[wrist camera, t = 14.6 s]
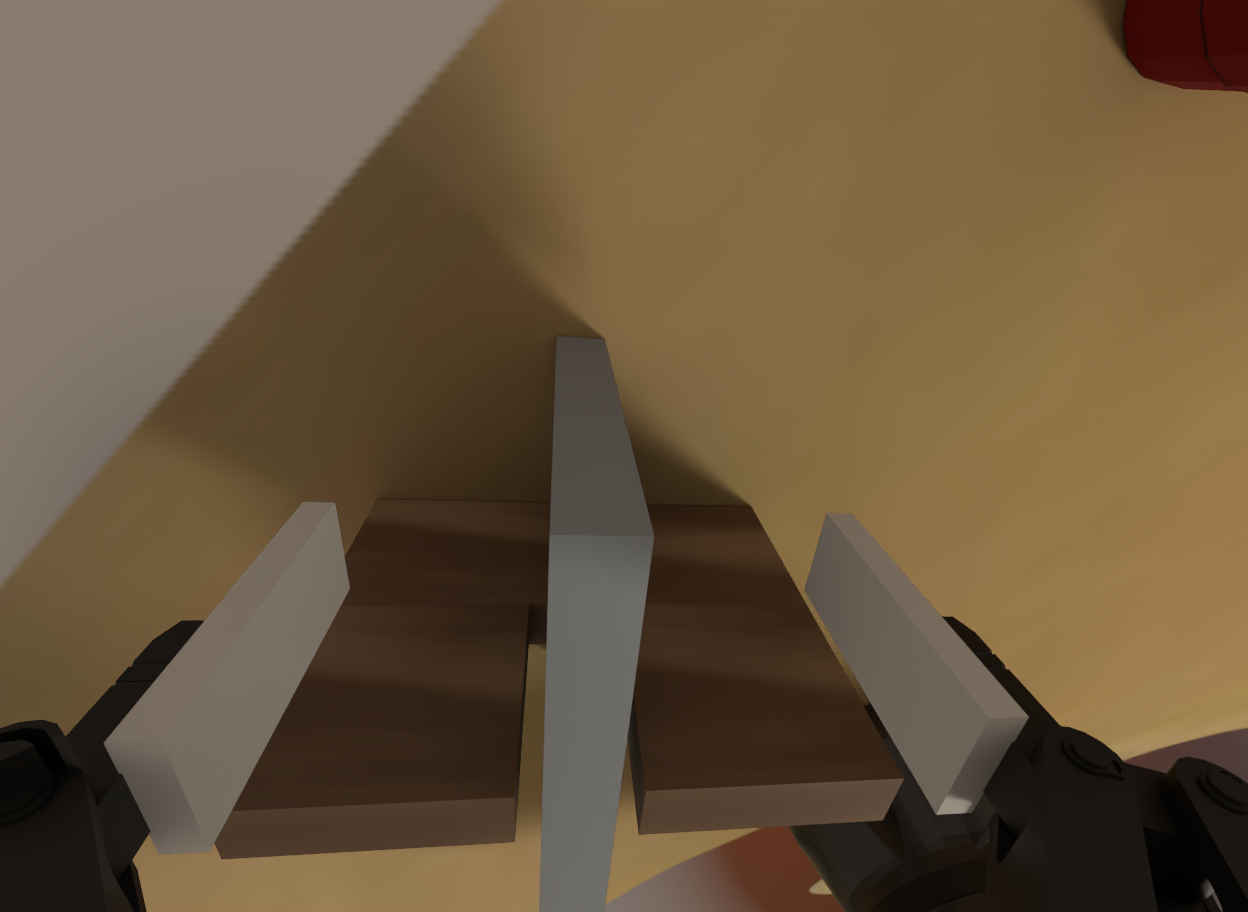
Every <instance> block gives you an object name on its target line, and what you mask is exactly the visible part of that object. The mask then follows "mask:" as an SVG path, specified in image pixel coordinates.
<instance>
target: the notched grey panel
mask: <svg viewBox="0 0 1248 912" xmlns="http://www.w3.org/2000/svg"><path fill="white" fill-rule="evenodd" d="M653 542H654V533H653V529H652V525H651V521H650V517H649V513H648V509H647V505H646V501H645V497H644V493H643V489H642V485H641V481H640V477H639V473H638V469H637V465H636V461H635V457H634V453H633V450H632V446H631V442H630V438H629V434H628V430H627V426H626V422H625V418H624V414H623V410H622V406H621V402H620V398H619V394H618V390H617V386H616V382H615V378H614V374H613V370H612V366H611V362H610V358H609V354H608V350H607V346H606V342H605V339H600V338H582V337H565V336H557V337H556V366H555V394H554V423H553V452H552V480H551V509H550V538H549V575H548V611H547V648H546V684H545V721H544V757H543V794H542V830H541V867H540V903H539V912H604V908H605V901H606V894H607V886H608V879H609V871H610V864H611V856H612V849H613V841H614V834H615V826H616V819H617V812H618V804H619V797H620V789H621V782H622V774H623V767H624V759H625V752H626V744H627V737H628V729H629V722H630V714H631V707H632V699H633V692H634V684H635V677H636V669H637V662H638V654H639V647H640V639H641V632H642V624H643V617H644V609H645V602H646V594H647V587H648V580H649V572H650V565H651V557H652V550H653Z"/></svg>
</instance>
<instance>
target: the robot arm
mask: <svg viewBox="0 0 1248 912" xmlns="http://www.w3.org/2000/svg"><path fill="white" fill-rule="evenodd" d="M349 589H350V586H349V580H348V574H347V568H346V563H345V557H344V551H343V545H342V539H341V534H340V528H339V522H338V516H337V510H336V504H335V502H302V504H301V505H300V506H299V507H298V508H297V510H296V511H295V512H294V513H293V514H292V516H291V517H290V518H289V519H288V520H287V522H286V523H285V524H284V525H283V527H282V528H281V529H280V530H279V531H278V533H277V534H276V535H275V536H274V537H273V539H272V540H271V541H270V542H269V543H268V545H267V546H266V547H265V548H264V550H263V551H262V552H261V553H260V554H259V556H258V557H257V558H256V559H255V560H254V562H253V563H252V564H251V565H250V566H249V568H248V569H247V570H246V571H245V573H244V574H243V575H242V576H241V577H240V579H239V580H238V581H237V582H236V583H235V585H234V586H233V587H232V588H231V589H230V591H229V592H228V593H227V594H226V596H225V597H224V598H223V599H222V600H221V602H220V603H219V604H218V605H217V606H216V608H215V609H214V610H213V611H212V612H211V614H210V615H209V616H208V617H207V619H206V620H205V621H180V622H179V623H178V624H176V625H175V626H173V627H172V628H170V629H169V630H167V631H166V632H164V633H163V634H161V635H160V636H158V637H157V638H155V639H154V640H153V641H152V642H151V643H150V644H149V645H148V646H147V647H146V648H145V649H144V651H143V652H142V653H141V654H140V655H139V656H138V657H137V658H136V659H135V660H134V662H133V665H132V667H128V668H127V669H126V670H125V672H124V673H123V674H122V675H121V676H120V677H119V678H118V679H117V680H116V684H115V686H111V687H110V688H109V689H108V690H107V691H106V693H105V694H104V695H103V696H102V697H101V698H100V699H99V700H98V701H97V702H96V704H95V705H94V706H93V707H92V708H91V709H90V710H89V711H88V712H87V714H86V715H85V716H84V717H83V718H82V719H81V720H80V721H79V722H78V724H77V725H76V726H75V727H74V728H73V729H72V730H71V731H70V732H69V733H68V735H67V736H66V737H65V735H64V734H63V732H62V731H61V729H60V728H59V726H58V725H57V724H56V723H53V722H49V721H45V720H34V721H25V722H19V723H15V724H12V725H9V726H6V727H3V728H0V912H146V907H145V903H144V898H143V894H142V889H141V884H140V880H139V875H138V871H137V868H136V866H135V865H134V863H133V861H132V859H133V858H134V856H135V855H136V853H137V852H138V850H139V848H140V847H141V845H142V844H143V842H144V841H145V839H146V838H147V836H148V834H149V835H150V837H151V839H152V841H153V843H154V845H155V847H156V849H157V851H158V853H159V854H179V853H198V852H210V850H211V848H212V847H213V845H214V843H215V841H216V839H217V837H218V835H219V833H220V831H221V830H222V828H223V826H224V824H225V822H226V820H227V818H228V816H229V815H230V813H231V811H232V809H233V807H234V805H235V803H236V801H237V800H238V798H239V796H240V794H241V792H242V790H243V788H244V786H245V785H246V783H247V781H248V779H249V777H250V775H251V773H252V771H253V770H254V768H255V766H256V764H257V762H258V760H259V758H260V756H261V755H262V753H263V751H264V749H265V747H266V745H267V743H268V741H269V740H270V738H271V736H272V734H273V732H274V730H275V728H276V726H277V725H278V723H279V721H280V719H281V717H282V715H283V713H284V711H285V710H286V708H287V706H288V704H289V702H290V700H291V698H292V696H293V695H294V693H295V691H296V689H297V687H298V685H299V683H300V681H301V680H302V678H303V676H304V674H305V672H306V670H307V668H308V666H309V665H310V663H311V661H312V659H313V657H314V655H315V653H316V651H317V650H318V648H319V646H320V644H321V642H322V640H323V638H324V636H325V634H326V633H327V631H328V629H329V627H330V625H331V623H332V621H333V619H334V618H335V616H336V614H337V612H338V610H339V608H340V606H341V604H342V603H343V601H344V599H345V597H346V595H347V593H348V591H349ZM805 592H806V594H807V595H808V597H809V599H810V601H811V602H812V604H813V606H814V607H815V609H816V611H817V612H818V614H819V616H820V618H821V619H822V621H823V623H824V624H825V626H826V628H827V629H828V631H829V633H830V635H831V636H832V638H833V640H834V641H835V643H836V645H837V646H838V648H839V650H840V652H841V653H842V655H843V657H844V658H845V660H846V662H847V663H848V665H849V667H850V669H851V670H852V672H853V674H854V675H855V677H856V679H857V680H858V682H859V684H860V686H861V687H862V689H863V691H864V692H865V694H866V696H867V698H868V699H869V701H870V703H871V704H872V706H869V707H866V708H865V710H866V711H867V713H868V715H869V717H870V718H871V720H872V722H873V724H874V726H875V727H876V729H877V731H878V733H879V734H880V736H881V738H882V740H883V742H884V743H885V745H886V747H887V749H888V750H889V752H890V754H891V756H892V758H893V759H894V761H895V763H896V765H897V766H898V768H899V770H900V772H901V774H902V775H903V777H904V780H903V782H902V784H901V786H900V788H899V790H898V792H897V794H896V795H895V797H894V799H893V801H892V803H891V805H890V807H889V809H888V811H887V813H886V815H885V817H884V819H883V820H879V821H863V822H846V823H829V824H812V825H795V826H789V828H790V830H791V832H792V834H793V836H794V838H795V840H796V841H797V843H798V844H799V846H800V847H801V848H802V850H803V851H804V853H805V854H806V856H807V857H808V858H809V860H810V862H811V863H812V865H813V866H814V867H815V869H816V870H817V872H818V873H819V875H820V876H821V878H822V879H823V880H824V882H825V883H826V885H827V886H828V888H829V889H830V891H831V892H832V893H833V895H834V896H835V898H836V899H837V901H838V902H839V903H840V905H841V906H842V908H843V909H844V911H845V912H1221V910H1220V909H1219V907H1218V905H1217V904H1216V902H1215V900H1214V898H1213V896H1212V893H1213V892H1214V891H1215V893H1216V895H1217V897H1218V899H1219V901H1220V904H1221V907H1222V909H1223V912H1248V784H1247V783H1246V782H1245V781H1244V780H1242V779H1241V778H1239V777H1238V776H1236V775H1235V774H1232V773H1231V772H1229V771H1227V770H1225V769H1224V768H1222V767H1220V766H1217V765H1215V764H1212V763H1210V762H1208V761H1205V760H1202V759H1197V758H1191V757H1185V758H1180V759H1178V760H1177V761H1176V762H1175V763H1174V764H1173V766H1172V767H1171V768H1170V769H1169V771H1168V772H1167V773H1163V772H1159V771H1155V770H1151V769H1147V768H1142V767H1139V766H1135V765H1131V764H1127V763H1124V762H1123V761H1122V760H1121V758H1120V757H1119V756H1118V755H1117V754H1116V753H1115V752H1113V751H1112V750H1111V749H1110V748H1108V747H1107V746H1106V745H1105V744H1103V743H1102V742H1101V741H1099V740H1097V739H1095V738H1094V737H1092V736H1090V735H1088V734H1086V733H1085V732H1082V731H1079V730H1076V729H1073V728H1070V727H1062V726H1060V725H1059V724H1058V723H1057V722H1056V721H1055V720H1054V718H1053V717H1052V716H1051V715H1050V714H1049V713H1048V712H1047V711H1046V710H1045V709H1044V708H1043V706H1042V705H1041V704H1040V703H1039V702H1038V701H1037V700H1036V699H1035V698H1034V697H1033V695H1032V694H1031V693H1030V692H1029V691H1028V690H1027V689H1026V688H1025V687H1024V686H1023V684H1022V683H1021V682H1020V681H1019V680H1018V679H1017V678H1016V677H1015V676H1014V675H1013V674H1012V672H1011V671H1010V670H1006V668H1005V665H1004V664H1003V663H1002V661H1001V660H1000V659H999V658H998V657H997V656H996V655H995V654H992V651H991V649H990V648H989V647H988V646H987V645H986V644H985V643H984V642H983V641H982V640H981V638H980V637H979V636H978V635H977V634H976V633H975V632H974V631H972V630H971V629H969V628H968V627H967V626H965V625H964V624H962V623H961V622H959V621H958V620H957V619H955V618H954V617H942V616H941V615H940V614H939V613H938V612H937V611H936V609H935V608H934V607H933V606H932V605H931V604H930V603H929V601H928V600H927V599H926V598H925V597H924V596H923V595H922V593H921V592H920V591H919V590H918V589H917V588H916V586H915V585H914V584H913V583H912V582H911V581H910V580H909V578H908V577H907V576H906V575H905V574H904V573H903V571H902V570H901V569H900V568H899V567H898V566H897V565H896V563H895V562H894V561H893V560H892V559H891V558H890V557H889V555H888V554H887V553H886V552H885V551H884V550H883V548H882V547H881V546H880V545H879V544H878V543H877V542H876V540H875V539H874V538H873V537H872V536H871V535H870V534H869V532H868V531H867V530H866V529H865V528H864V527H863V525H862V524H861V523H860V522H859V521H858V520H857V519H856V517H855V516H854V515H853V514H845V513H827V514H826V517H825V521H824V524H823V528H822V531H821V535H820V538H819V541H818V545H817V548H816V552H815V555H814V559H813V562H812V566H811V569H810V572H809V576H808V579H807V583H806V586H805Z"/></svg>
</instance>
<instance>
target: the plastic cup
mask: <svg viewBox="0 0 1248 912" xmlns="http://www.w3.org/2000/svg"><path fill="white" fill-rule="evenodd" d="M1123 28H1124V34H1125V40H1126V46H1127V53H1128V58H1129V59H1130V60H1131V61H1132V63H1133V64H1134V65H1135V67H1136V68H1137V69H1138V70H1139V72H1140V73H1141V74H1142V76H1143V77H1144V78H1147V79H1151V80H1154V81H1158V82H1161V83H1164V84H1168V85H1172V86H1176V87H1179V88H1182V89H1200V90H1222V91H1243V92H1247V93H1248V0H1128V1H1127V7H1126V12H1125V18H1124V23H1123Z"/></svg>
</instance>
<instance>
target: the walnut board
mask: <svg viewBox="0 0 1248 912" xmlns="http://www.w3.org/2000/svg"><path fill="white" fill-rule="evenodd" d="M646 505H647V509H648V513H649V517H650V521H651V525H652V529H653V533H654V542H653V550H652V557H651V565H650V572H649V580H648V587H647V594H646V602H645V609H644V617H643V624H642V632H641V639H640V647H639V654H638V662H637V669H636V677H635V684H634V692H633V699H632V707H631V714H630V722H629V729H628V745H629V754H630V763H631V771H632V780H633V789H634V797H635V806H636V815H637V823H638V832H639V835H642V834H659V833H676V832H693V831H710V830H727V829H744V828H761V827H777V826H795V825H812V824H829V823H846V822H863V821H879V820H883V819H884V817H885V815H886V813H887V811H888V809H889V807H890V805H891V803H892V801H893V799H894V797H895V795H896V794H897V792H898V790H899V788H900V786H901V784H902V782H903V780H904V777H903V775H902V774H901V772H900V770H899V768H898V766H897V765H896V763H895V761H894V759H893V758H892V756H891V754H890V752H889V750H888V749H887V747H886V745H885V743H884V742H883V740H882V738H881V736H880V734H879V733H878V731H877V729H876V727H875V726H874V724H873V722H872V720H871V718H870V717H869V715H868V713H867V711H866V710H865V708H864V706H863V704H862V702H861V701H860V699H859V697H858V695H857V694H856V692H855V690H854V688H853V686H852V685H851V683H850V681H849V679H848V678H847V676H846V674H845V672H844V670H843V669H842V667H841V665H840V663H839V662H838V660H837V658H836V656H835V654H834V653H833V651H832V649H831V647H830V646H829V644H828V642H827V640H826V638H825V637H824V635H823V633H822V631H821V630H820V628H819V626H818V624H817V622H816V621H815V619H814V617H813V615H812V614H811V612H810V610H809V608H808V606H807V605H806V603H805V601H804V599H803V598H802V596H801V594H800V592H799V590H798V589H797V587H796V585H795V583H794V582H793V580H792V578H791V576H790V574H789V573H788V571H787V569H786V567H785V566H784V564H783V562H782V560H781V558H780V557H779V555H778V553H777V551H776V550H775V548H774V546H773V544H772V542H771V541H770V539H769V537H768V535H767V534H766V532H765V530H764V528H763V526H762V525H761V523H760V521H759V519H758V518H757V516H756V514H755V512H754V510H753V509H752V507H751V506H707V505H655V504H646ZM550 509H551V502H501V501H449V500H398V499H377V501H376V502H375V504H374V506H373V508H372V510H371V511H370V513H369V515H368V517H367V518H366V520H365V522H364V524H363V526H362V527H361V529H360V531H359V533H358V534H357V536H356V538H355V540H354V542H353V543H352V545H351V547H350V549H349V550H348V552H347V554H346V556H345V563H346V568H347V574H348V580H349V586H350V589H349V591H348V593H347V595H346V597H345V599H344V601H343V603H342V604H341V606H340V608H339V610H338V612H337V614H336V616H335V618H334V619H333V621H332V623H331V625H330V627H329V629H328V631H327V633H326V634H325V636H324V638H323V640H322V642H321V644H320V646H319V648H318V650H317V651H316V653H315V655H314V657H313V659H312V661H311V663H310V665H309V666H308V668H307V670H306V672H305V674H304V676H303V678H302V680H301V681H300V683H299V685H298V687H297V689H296V691H295V693H294V695H293V696H292V698H291V700H290V702H289V704H288V706H287V708H286V710H285V711H284V713H283V715H282V717H281V719H280V721H279V723H278V725H277V726H276V728H275V730H274V732H273V734H272V736H271V738H270V740H269V741H268V743H267V745H266V747H265V749H264V751H263V753H262V755H261V756H260V758H259V760H258V762H257V764H256V766H255V768H254V770H253V771H252V773H251V775H250V777H249V779H248V781H247V783H246V785H245V786H244V788H243V790H242V792H241V794H240V796H239V798H238V800H237V801H236V803H235V805H234V807H233V809H232V811H231V813H230V815H229V816H228V818H227V820H226V822H225V824H224V826H223V828H222V830H221V831H220V833H219V835H218V837H217V839H216V841H215V845H216V847H217V850H218V852H219V854H220V856H221V859H235V858H252V857H269V856H286V855H303V854H320V853H337V852H354V851H371V850H388V849H405V848H422V847H439V846H456V845H473V844H490V843H507V842H515V831H516V817H517V802H518V788H519V774H520V760H521V746H522V732H523V718H524V704H525V690H526V676H527V661H528V647H529V644H547V611H548V575H549V538H550Z"/></svg>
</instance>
